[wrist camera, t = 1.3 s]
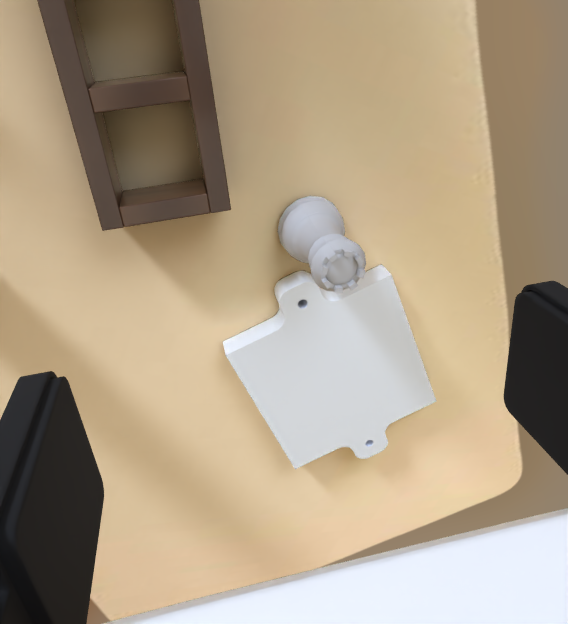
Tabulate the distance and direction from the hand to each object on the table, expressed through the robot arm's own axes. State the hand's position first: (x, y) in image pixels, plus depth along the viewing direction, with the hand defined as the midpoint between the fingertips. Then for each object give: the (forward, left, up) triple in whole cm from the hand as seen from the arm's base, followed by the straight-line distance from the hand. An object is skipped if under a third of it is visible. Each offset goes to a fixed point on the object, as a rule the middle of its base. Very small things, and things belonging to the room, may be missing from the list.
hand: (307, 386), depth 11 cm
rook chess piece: (+6, +6, -25) cm, 27 cm away
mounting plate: (+18, +7, -25) cm, 32 cm away
